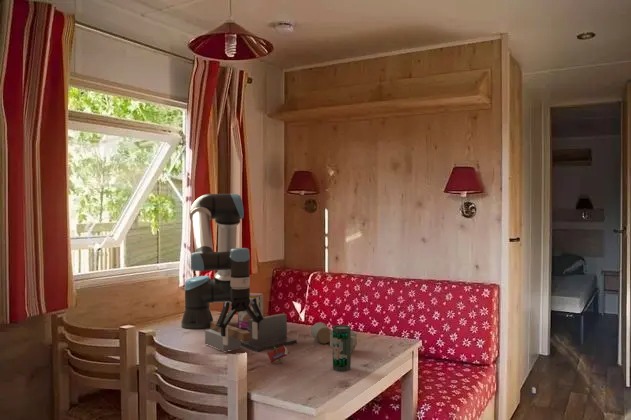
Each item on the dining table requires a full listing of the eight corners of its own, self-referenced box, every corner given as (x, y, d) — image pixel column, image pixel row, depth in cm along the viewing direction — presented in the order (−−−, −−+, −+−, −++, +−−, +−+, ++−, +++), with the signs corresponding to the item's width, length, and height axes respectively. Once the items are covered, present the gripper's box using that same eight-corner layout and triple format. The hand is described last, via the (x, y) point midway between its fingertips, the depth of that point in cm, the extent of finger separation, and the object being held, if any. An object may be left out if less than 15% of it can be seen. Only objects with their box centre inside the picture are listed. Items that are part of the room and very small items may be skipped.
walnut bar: (210, 329, 225) (210, 322, 225) (216, 328, 227) (216, 321, 227) (244, 341, 205) (244, 333, 205) (250, 340, 207) (250, 332, 207)
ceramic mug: (316, 345, 222) (316, 326, 222) (310, 340, 230) (311, 322, 230) (340, 343, 225) (340, 325, 225) (333, 338, 233) (334, 321, 233)
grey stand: (205, 344, 224) (205, 330, 224) (221, 341, 229) (221, 327, 229) (223, 352, 212) (223, 337, 212) (240, 348, 217) (240, 333, 217)
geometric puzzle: (265, 360, 194) (278, 342, 195) (261, 355, 200) (274, 337, 201) (280, 371, 195) (293, 352, 197) (276, 365, 202) (289, 347, 203)
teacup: (325, 349, 216) (325, 329, 216) (350, 346, 220) (350, 327, 220) (339, 358, 203) (339, 338, 203) (365, 356, 207) (365, 335, 207)
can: (329, 368, 191) (329, 327, 191) (341, 365, 195) (341, 324, 195) (342, 372, 187) (342, 329, 186) (353, 368, 191) (353, 327, 191)
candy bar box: (237, 328, 251) (237, 294, 250) (241, 326, 255) (241, 292, 255) (259, 330, 248) (259, 295, 247) (263, 327, 252) (263, 293, 252)
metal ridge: (238, 345, 223) (238, 317, 222) (277, 336, 236) (277, 311, 235) (257, 352, 212) (257, 323, 212) (296, 343, 225) (296, 316, 225)
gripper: (217, 292, 199) (217, 349, 199) (271, 285, 215) (271, 337, 215) (207, 289, 205) (207, 345, 205) (260, 283, 221) (261, 334, 221)
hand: (240, 341), depth 210 cm, fingers open, 13 cm apart
